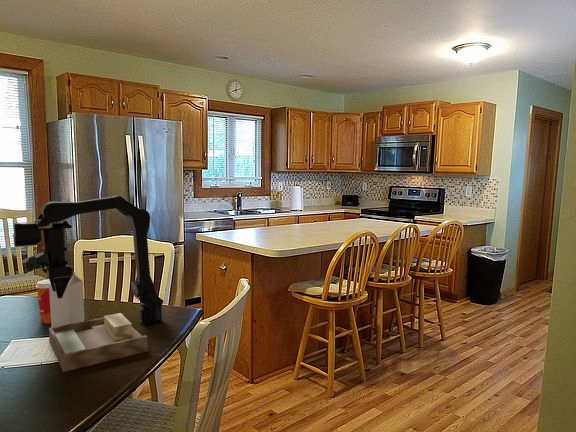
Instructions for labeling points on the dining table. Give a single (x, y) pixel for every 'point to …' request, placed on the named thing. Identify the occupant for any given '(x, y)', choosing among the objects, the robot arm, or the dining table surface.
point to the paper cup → (44, 300)
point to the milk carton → (67, 304)
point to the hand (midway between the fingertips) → (57, 294)
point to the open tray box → (91, 344)
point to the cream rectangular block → (117, 326)
